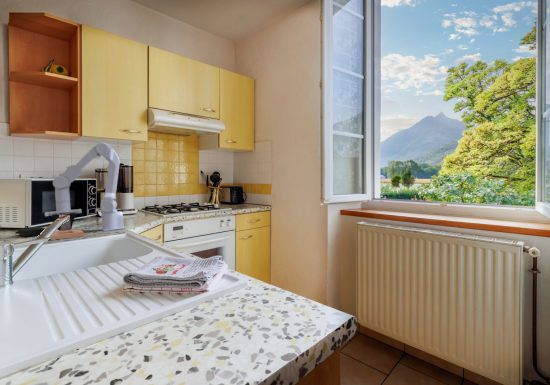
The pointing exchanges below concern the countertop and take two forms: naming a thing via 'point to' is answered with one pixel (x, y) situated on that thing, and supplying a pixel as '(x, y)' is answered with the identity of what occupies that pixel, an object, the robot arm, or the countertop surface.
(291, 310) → the countertop surface
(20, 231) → the carrying case or bag
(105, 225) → the robot arm
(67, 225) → the charger block
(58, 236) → the socket plate
